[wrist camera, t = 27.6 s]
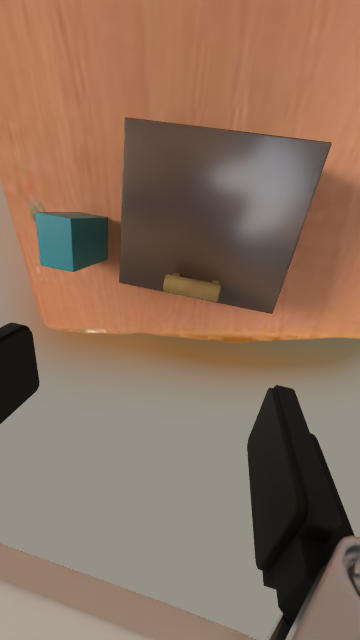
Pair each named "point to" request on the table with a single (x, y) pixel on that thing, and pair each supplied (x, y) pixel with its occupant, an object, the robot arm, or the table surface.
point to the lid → (214, 210)
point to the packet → (71, 239)
